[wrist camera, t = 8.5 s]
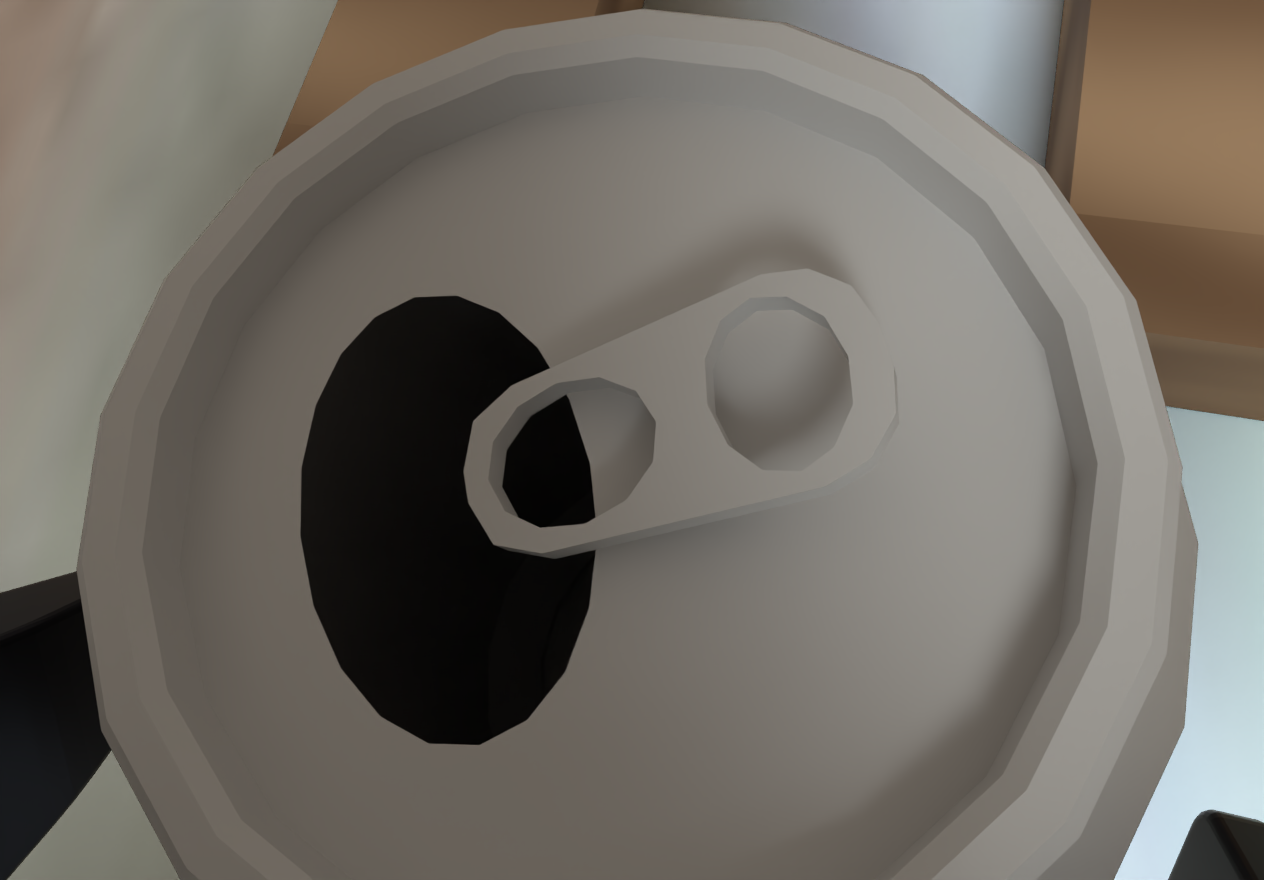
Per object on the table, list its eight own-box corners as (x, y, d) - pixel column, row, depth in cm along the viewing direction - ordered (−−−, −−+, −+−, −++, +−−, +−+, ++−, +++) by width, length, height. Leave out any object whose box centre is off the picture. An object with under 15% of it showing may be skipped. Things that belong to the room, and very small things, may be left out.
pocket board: (1359, 435, 16) (1456, 374, 14) (310, 276, 20) (250, 209, 18) (1354, -179, 21) (1428, -302, 18) (496, -206, 25) (467, -309, 22)
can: (471, 523, 18) (-29, 75, 7) (861, 425, 17) (1016, -221, 6) (540, 964, 15) (-116, 1448, 4) (1005, 861, 15) (1731, 1071, 4)
